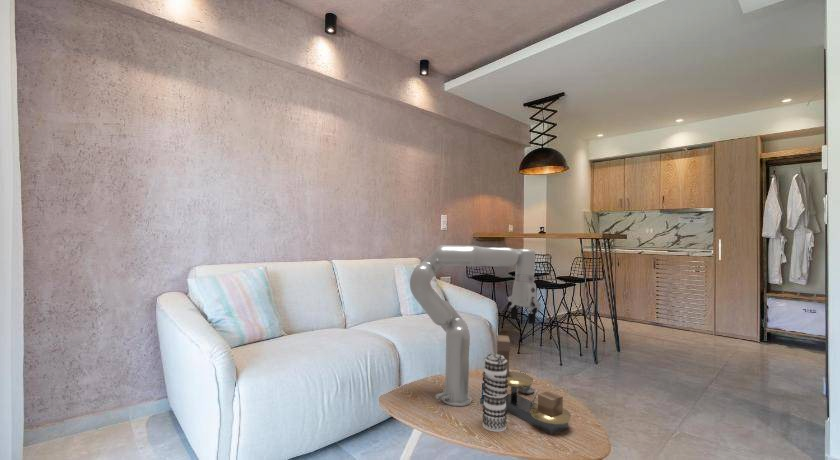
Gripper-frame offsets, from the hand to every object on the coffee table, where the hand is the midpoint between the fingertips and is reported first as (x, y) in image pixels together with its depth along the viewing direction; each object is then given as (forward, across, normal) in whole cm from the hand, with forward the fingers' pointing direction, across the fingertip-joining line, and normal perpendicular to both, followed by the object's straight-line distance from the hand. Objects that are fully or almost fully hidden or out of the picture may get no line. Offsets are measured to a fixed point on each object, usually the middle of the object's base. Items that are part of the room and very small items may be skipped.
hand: (522, 320), depth 157 cm
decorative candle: (+34, -10, +22) cm, 42 cm away
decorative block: (+34, +22, -12) cm, 42 cm away
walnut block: (+28, -19, +4) cm, 35 cm away
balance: (+34, -11, +5) cm, 36 cm away
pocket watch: (+34, +7, -11) cm, 36 cm away
